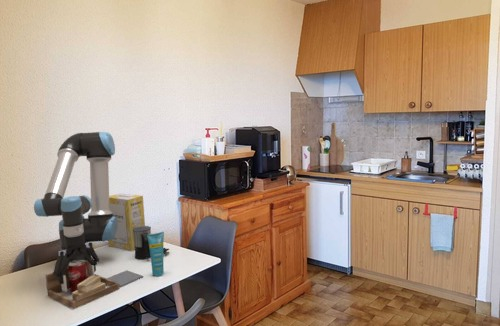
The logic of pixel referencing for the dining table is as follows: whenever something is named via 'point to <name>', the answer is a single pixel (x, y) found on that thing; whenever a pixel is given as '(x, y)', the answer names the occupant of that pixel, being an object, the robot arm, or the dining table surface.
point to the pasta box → (126, 219)
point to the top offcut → (89, 284)
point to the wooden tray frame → (56, 288)
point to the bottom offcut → (79, 295)
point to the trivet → (125, 278)
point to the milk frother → (142, 242)
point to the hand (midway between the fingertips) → (79, 285)
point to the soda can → (77, 273)
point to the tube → (156, 252)
